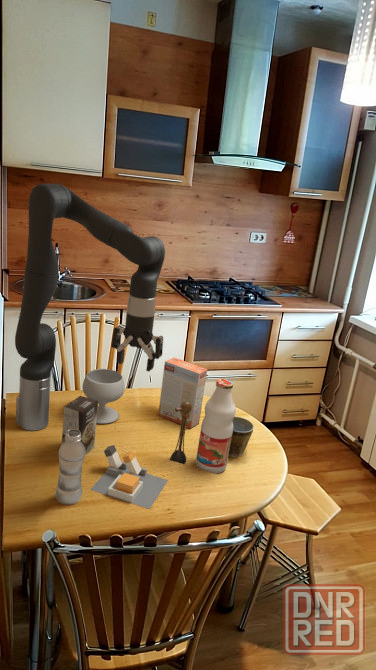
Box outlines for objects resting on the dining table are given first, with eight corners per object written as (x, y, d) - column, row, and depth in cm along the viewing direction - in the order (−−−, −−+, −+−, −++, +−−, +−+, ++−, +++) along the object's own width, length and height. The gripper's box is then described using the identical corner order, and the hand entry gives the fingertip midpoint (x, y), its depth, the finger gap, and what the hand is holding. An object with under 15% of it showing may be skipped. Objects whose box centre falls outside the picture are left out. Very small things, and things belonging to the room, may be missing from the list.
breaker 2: (131, 476, 143) (122, 457, 143) (135, 471, 146) (126, 452, 145) (137, 474, 143) (128, 455, 142) (141, 469, 145) (132, 450, 144)
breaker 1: (111, 470, 145) (103, 451, 144) (116, 465, 147) (108, 446, 146) (117, 468, 144) (109, 449, 143) (122, 463, 147) (114, 444, 146)
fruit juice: (232, 468, 157) (248, 384, 148) (210, 478, 151) (225, 391, 142) (210, 453, 164) (224, 372, 154) (189, 462, 157) (201, 378, 148)
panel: (89, 493, 137) (90, 483, 136) (112, 466, 150) (113, 457, 149) (149, 513, 133) (150, 502, 132) (167, 483, 146) (169, 474, 145)
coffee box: (79, 462, 150) (82, 412, 145) (60, 455, 152) (62, 406, 146) (95, 447, 158) (99, 400, 153) (76, 441, 160) (80, 394, 155)
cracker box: (199, 423, 181) (208, 368, 174) (190, 429, 176) (199, 373, 169) (167, 409, 188) (174, 356, 181) (157, 415, 183) (164, 360, 176)
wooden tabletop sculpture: (172, 467, 154) (180, 407, 147) (164, 459, 157) (172, 400, 151) (188, 463, 157) (197, 404, 150) (180, 455, 160) (189, 397, 154)
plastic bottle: (57, 492, 136) (61, 425, 129) (83, 493, 137) (88, 427, 130) (52, 508, 130) (56, 438, 123) (80, 509, 131) (85, 441, 124)
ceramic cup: (254, 453, 167) (260, 426, 164) (235, 463, 160) (240, 435, 157) (223, 436, 175) (228, 409, 172) (204, 445, 168) (208, 417, 165)
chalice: (88, 428, 168) (91, 387, 163) (74, 409, 179) (77, 369, 174) (128, 422, 175) (132, 382, 170) (112, 404, 186) (116, 365, 181)
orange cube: (115, 494, 136) (116, 481, 135) (123, 485, 140) (124, 472, 139) (131, 499, 135) (132, 486, 134) (138, 490, 139) (139, 477, 138)
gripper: (110, 309, 137) (105, 365, 143) (160, 320, 134) (153, 377, 139) (122, 303, 144) (117, 356, 149) (170, 313, 141) (163, 368, 146)
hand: (134, 366), depth 144 cm, fingers open, 8 cm apart
